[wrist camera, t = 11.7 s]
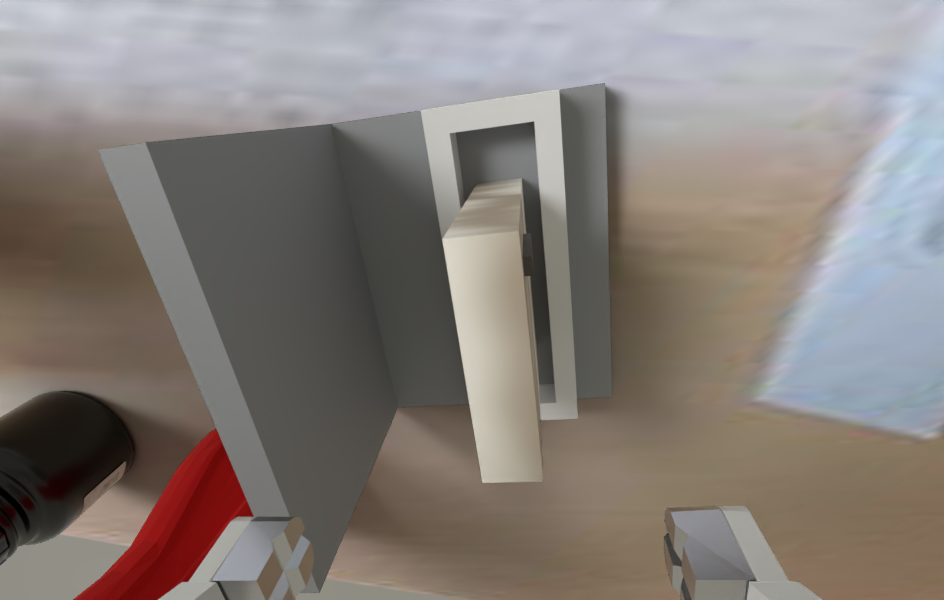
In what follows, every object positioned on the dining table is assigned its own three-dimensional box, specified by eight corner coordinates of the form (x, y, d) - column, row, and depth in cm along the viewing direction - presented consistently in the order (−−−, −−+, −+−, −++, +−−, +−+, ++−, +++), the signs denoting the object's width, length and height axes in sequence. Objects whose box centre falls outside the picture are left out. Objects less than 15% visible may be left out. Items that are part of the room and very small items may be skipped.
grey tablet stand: (381, 398, 32) (286, 592, 19) (314, 126, 25) (97, 149, 13) (609, 386, 30) (671, 599, 17) (601, 84, 23) (695, 57, 10)
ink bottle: (57, 476, 39) (-125, 621, 28) (6, 389, 36) (-223, 515, 25) (158, 476, 38) (8, 628, 27) (115, 385, 34) (-77, 517, 23)
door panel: (497, 347, 28) (482, 483, 18) (476, 183, 24) (442, 239, 14) (542, 344, 28) (551, 481, 18) (527, 177, 24) (528, 230, 14)
